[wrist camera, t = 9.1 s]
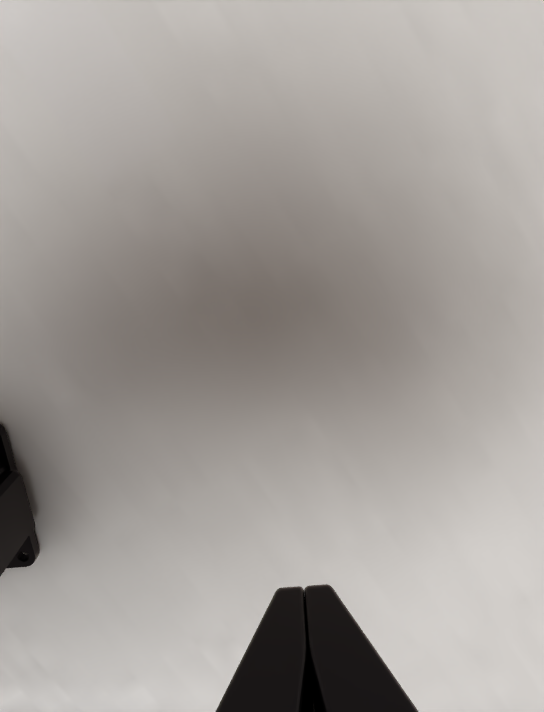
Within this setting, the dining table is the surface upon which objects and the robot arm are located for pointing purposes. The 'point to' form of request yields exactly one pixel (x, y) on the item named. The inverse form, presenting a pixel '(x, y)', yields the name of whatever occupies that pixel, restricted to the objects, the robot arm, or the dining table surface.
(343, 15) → the dining table surface
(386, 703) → the robot arm
